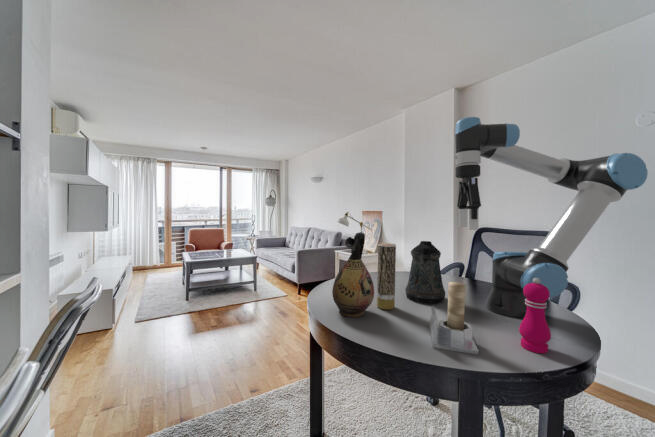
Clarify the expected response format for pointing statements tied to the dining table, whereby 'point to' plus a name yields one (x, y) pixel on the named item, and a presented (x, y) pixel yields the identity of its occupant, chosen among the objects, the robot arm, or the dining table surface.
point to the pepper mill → (535, 318)
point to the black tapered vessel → (425, 275)
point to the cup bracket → (451, 336)
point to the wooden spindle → (456, 305)
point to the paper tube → (386, 276)
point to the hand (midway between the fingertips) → (467, 228)
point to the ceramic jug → (353, 281)
